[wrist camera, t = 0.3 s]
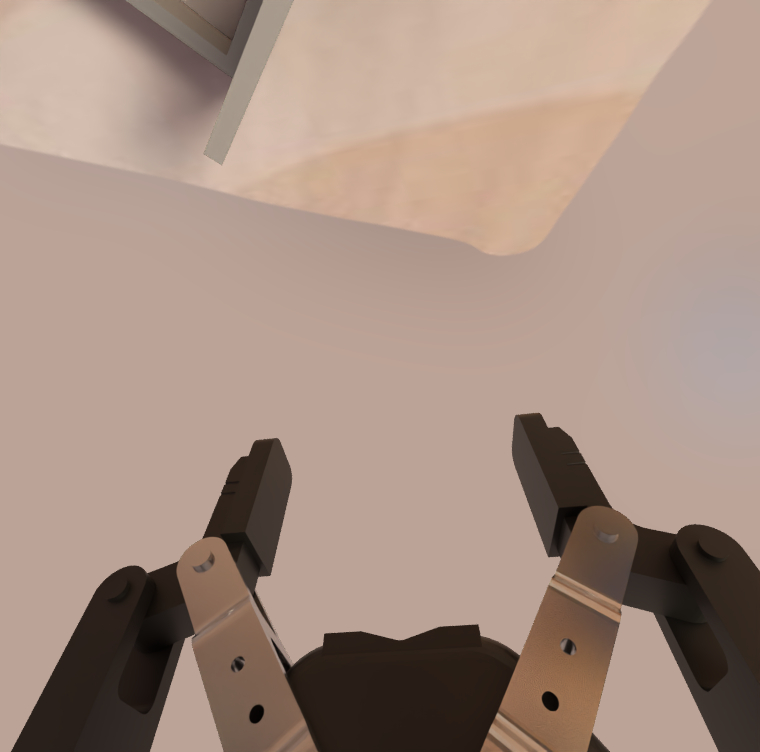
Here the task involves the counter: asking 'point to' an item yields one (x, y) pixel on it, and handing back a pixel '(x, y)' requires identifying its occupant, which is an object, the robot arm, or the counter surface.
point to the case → (225, 54)
